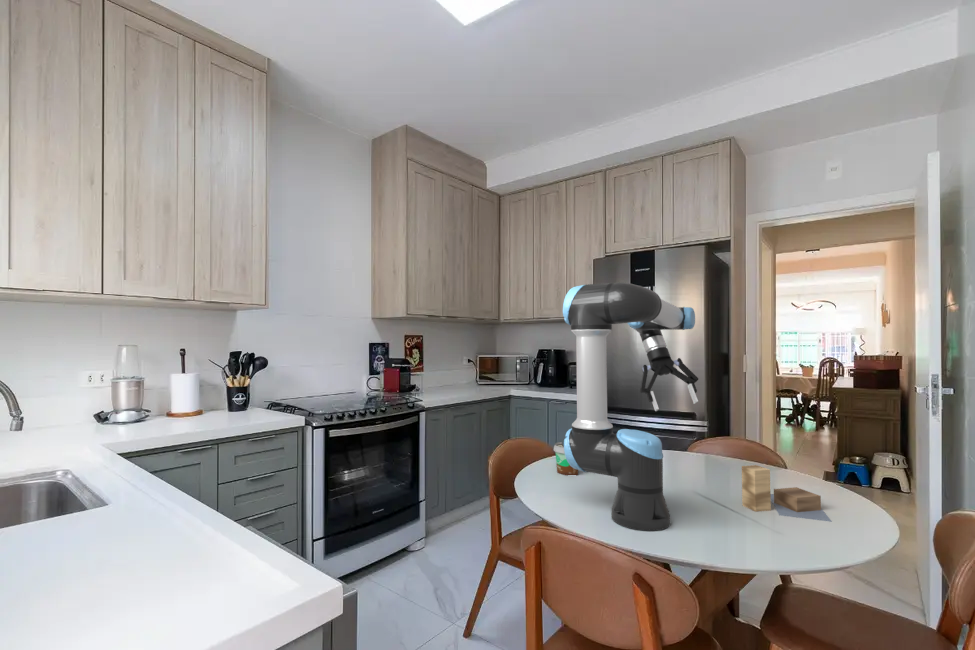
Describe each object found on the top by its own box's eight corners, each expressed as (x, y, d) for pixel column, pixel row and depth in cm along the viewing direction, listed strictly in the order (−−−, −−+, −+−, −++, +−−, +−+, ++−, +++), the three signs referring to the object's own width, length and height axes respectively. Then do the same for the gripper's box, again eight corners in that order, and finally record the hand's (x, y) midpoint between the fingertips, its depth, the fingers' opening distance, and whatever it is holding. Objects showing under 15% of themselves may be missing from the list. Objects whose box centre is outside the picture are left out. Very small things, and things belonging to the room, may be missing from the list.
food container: (547, 469, 176) (547, 443, 177) (560, 467, 179) (560, 441, 179) (565, 478, 165) (565, 449, 166) (580, 476, 168) (580, 448, 168)
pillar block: (770, 512, 132) (769, 469, 133) (755, 513, 131) (754, 470, 132) (757, 506, 137) (756, 465, 138) (742, 507, 136) (741, 465, 136)
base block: (820, 510, 132) (820, 495, 133) (797, 512, 131) (796, 497, 131) (796, 500, 140) (796, 487, 140) (774, 502, 138) (773, 489, 139)
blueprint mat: (832, 523, 124) (832, 521, 124) (779, 517, 129) (779, 515, 129) (812, 500, 142) (812, 498, 142) (767, 495, 147) (767, 493, 147)
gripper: (687, 347, 174) (708, 402, 165) (621, 360, 174) (638, 415, 165) (693, 339, 167) (715, 396, 158) (624, 353, 168) (643, 410, 159)
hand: (676, 406), depth 162 cm, fingers open, 13 cm apart
